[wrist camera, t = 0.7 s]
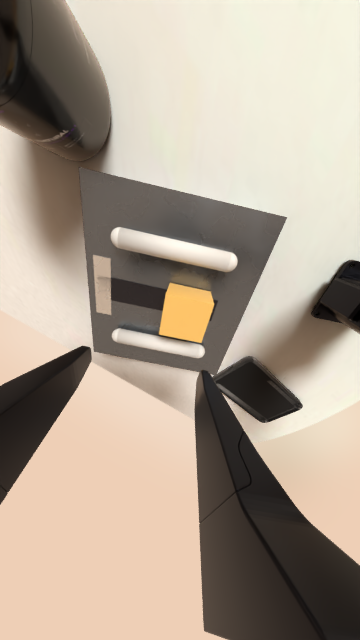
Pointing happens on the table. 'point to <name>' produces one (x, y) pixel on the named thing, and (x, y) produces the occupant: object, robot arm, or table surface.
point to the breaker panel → (167, 263)
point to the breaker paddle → (186, 312)
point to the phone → (256, 390)
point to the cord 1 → (158, 343)
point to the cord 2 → (173, 249)
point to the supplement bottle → (51, 79)
